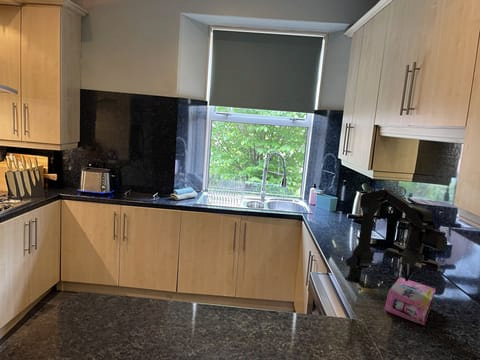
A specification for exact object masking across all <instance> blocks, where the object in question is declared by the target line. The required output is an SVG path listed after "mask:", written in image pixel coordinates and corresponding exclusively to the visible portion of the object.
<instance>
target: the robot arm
mask: <svg viewBox="0 0 480 360" xmlns="http://www.w3.org/2000/svg"><path fill="white" fill-rule="evenodd" d="M359 202H360V203H359V204H360V206H359V207H360V209H361V212H362V213H361V214H362V216H361V222H360V230H359V237H358V243H357V245H356V247H355V248H354V249H353V250H352V251H353V252H352V255H351V257H349V258H347V259H346V260H345V265H346V266H347V267H349V269H348V274H347V276H345V277H344V280H347V281H350V282H353V283H356V284H361V283H362V282H363V281H364V279H363V278H362V276H363V272H364V269H368V268H369V266H370V265H372V262H373V261H374V255H375V252H374V251H373V250H372V249H371V240H372V233H373V227H374V223H375V222H374V220H375V215H376V213H377V212H378V211H379V209H380V206H381V204H382V203H385V202H387V203H389V204H390V205H392V206H394V207H395V208H396V209H398V210H399V211H401V212H402V213H404V215H405V217H406V218H407V219H408V220H409V221H410V222H408V223H406V224H405V227H406V228H409V230H408V235H407V240H406V244H405V247H404V249H403V251H402V253H400V252H399V250H398V249H395V248H391V247H389V248H387V249H386V250H385V251H384V253H383V256H384V258H389V259H391V260H393V259H395V258H398V259H399V261H398V264H400V265H401V266H402V269H403V273H404V279H405V281H408V280H410V278H411V276H412V275H413V274H414V272H415V271H416V270H420V269H421V268H422V266H423V267H425V268H426V270H427V271H430V272H433V273H438V272H439V270H440V267H441V266H440V265H441V264H440V262H439V261H435V260H433V259H427V260H424V257H425V254H423V248H424V246H425V247H429V248H431V249H433V250H436V251H439V252H442V251H444V250H445V249H446V247H447V246H448V239H447V236H446V232H445V231H440V230H437V226H436V223H435V221H434V219H433V213H432V212H431V210H428V209H427V208H426V209H425V208H423V207H420V206H417V205H414V204H412V202H409V201H408V200H406V199H405V198H403V197H401V196H400V195H399V194H397V193H395V192H394V191H393V190H392V189H387V188H382V189H379V190H375V191H371V192H364V193H362V194H361V195H360V199H359Z"/></svg>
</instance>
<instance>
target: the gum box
mask: <svg viewBox="0 0 480 360" xmlns="http://www.w3.org/2000/svg"><path fill="white" fill-rule="evenodd" d="M435 293H436V288H434V287H431V286H428V285H425V284H423V283H419V282H417V281H413V280H410V279H409V280H408V281H405V277H401V276H400V277H399V278H398V279H397V280H396V281H395V283H394V284H393V285H392V286H391V288H390V289H389V290H388V293H387V297H386V301H385V306H384V309H383V310H384V311H386V312H388V313H390V312H391V313H390V314H393V313H394V314H393V315H395V314H396V315H395V316H398V315H399V316H398V317H400V316H401V317H400V318H403V317H404V319H406V320H408V319H409V320H408V321H411V320H412V321H411V322H413V321H414V323H416V322H417V323H416V324H420V325H423V326H425V324H426V321H427V319H428V315H429V313H430V311H431V308H432V305H433V301H434V296H435Z"/></svg>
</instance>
